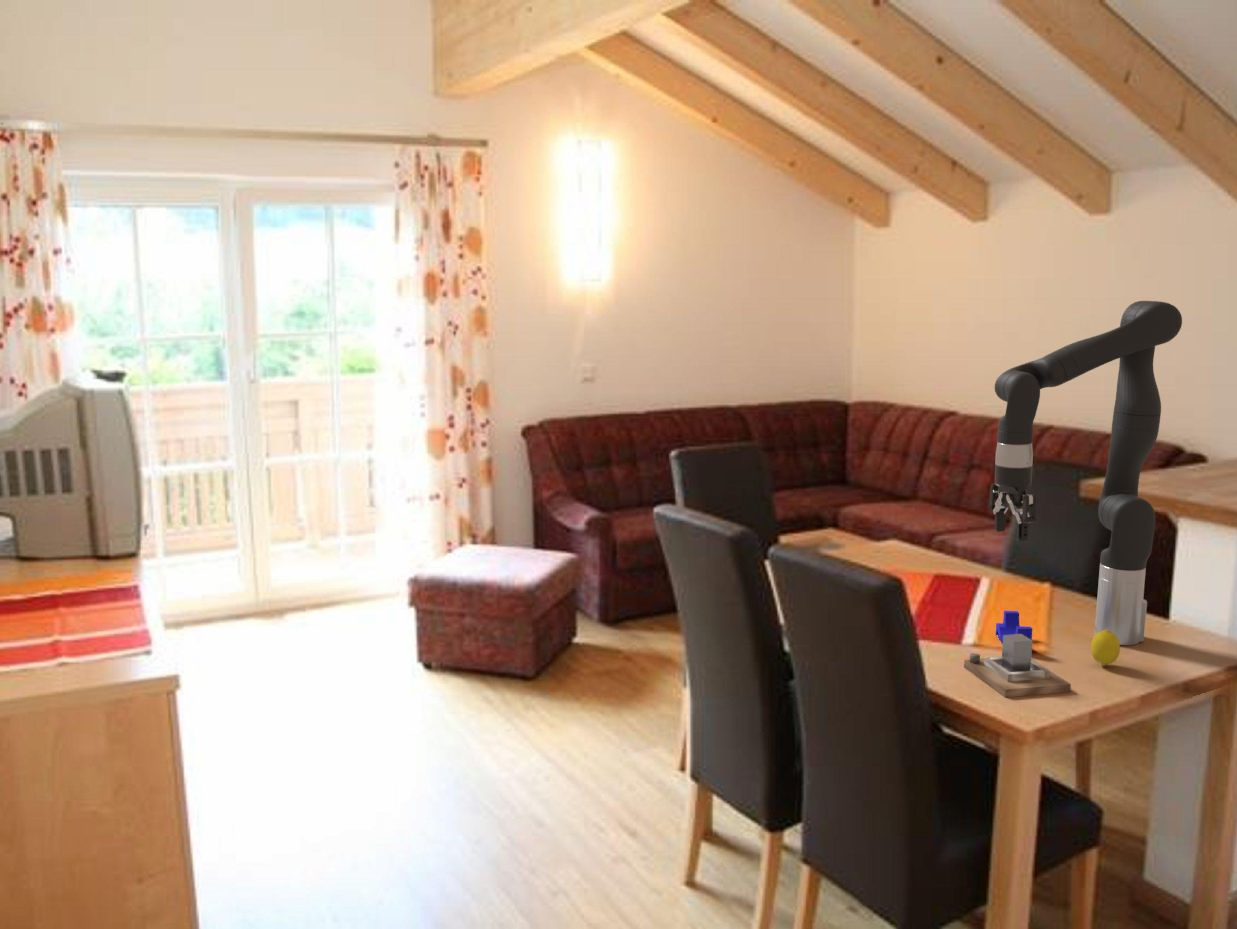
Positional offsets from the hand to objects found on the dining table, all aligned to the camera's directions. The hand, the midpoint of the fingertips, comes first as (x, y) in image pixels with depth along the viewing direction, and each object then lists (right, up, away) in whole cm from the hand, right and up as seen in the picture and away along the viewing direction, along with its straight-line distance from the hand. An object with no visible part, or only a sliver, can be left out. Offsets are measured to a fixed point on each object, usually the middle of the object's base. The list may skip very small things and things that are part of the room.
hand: (1010, 535), depth 225 cm
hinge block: (-5, -26, -17) cm, 32 cm away
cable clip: (+2, -25, +3) cm, 25 cm away
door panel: (-5, -28, -16) cm, 33 cm away
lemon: (+16, -27, -10) cm, 33 cm away
